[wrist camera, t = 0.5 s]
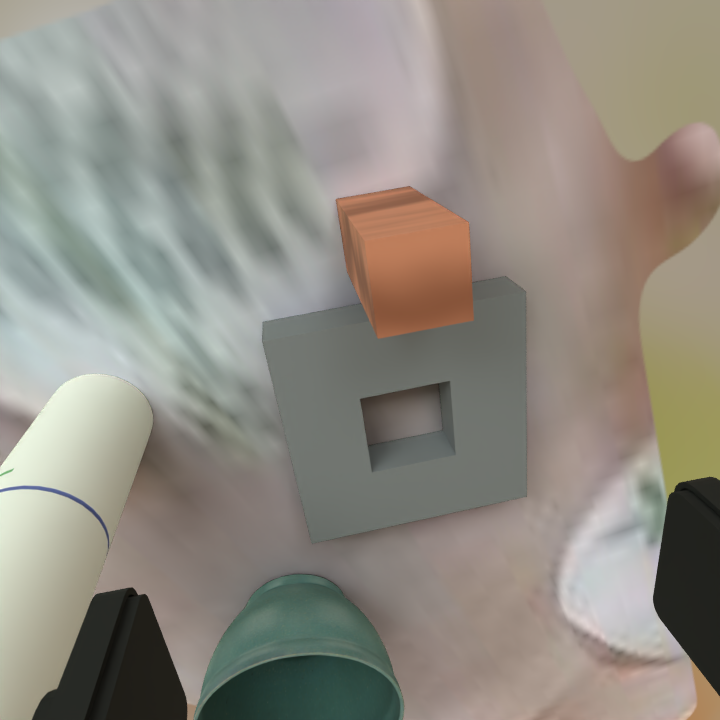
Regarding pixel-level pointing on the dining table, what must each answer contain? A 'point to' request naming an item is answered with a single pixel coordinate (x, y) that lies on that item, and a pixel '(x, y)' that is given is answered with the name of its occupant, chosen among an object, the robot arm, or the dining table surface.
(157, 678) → the robot arm
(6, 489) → the cylindrical container
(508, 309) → the socket block
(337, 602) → the green bowl
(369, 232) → the peg
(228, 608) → the dining table surface
